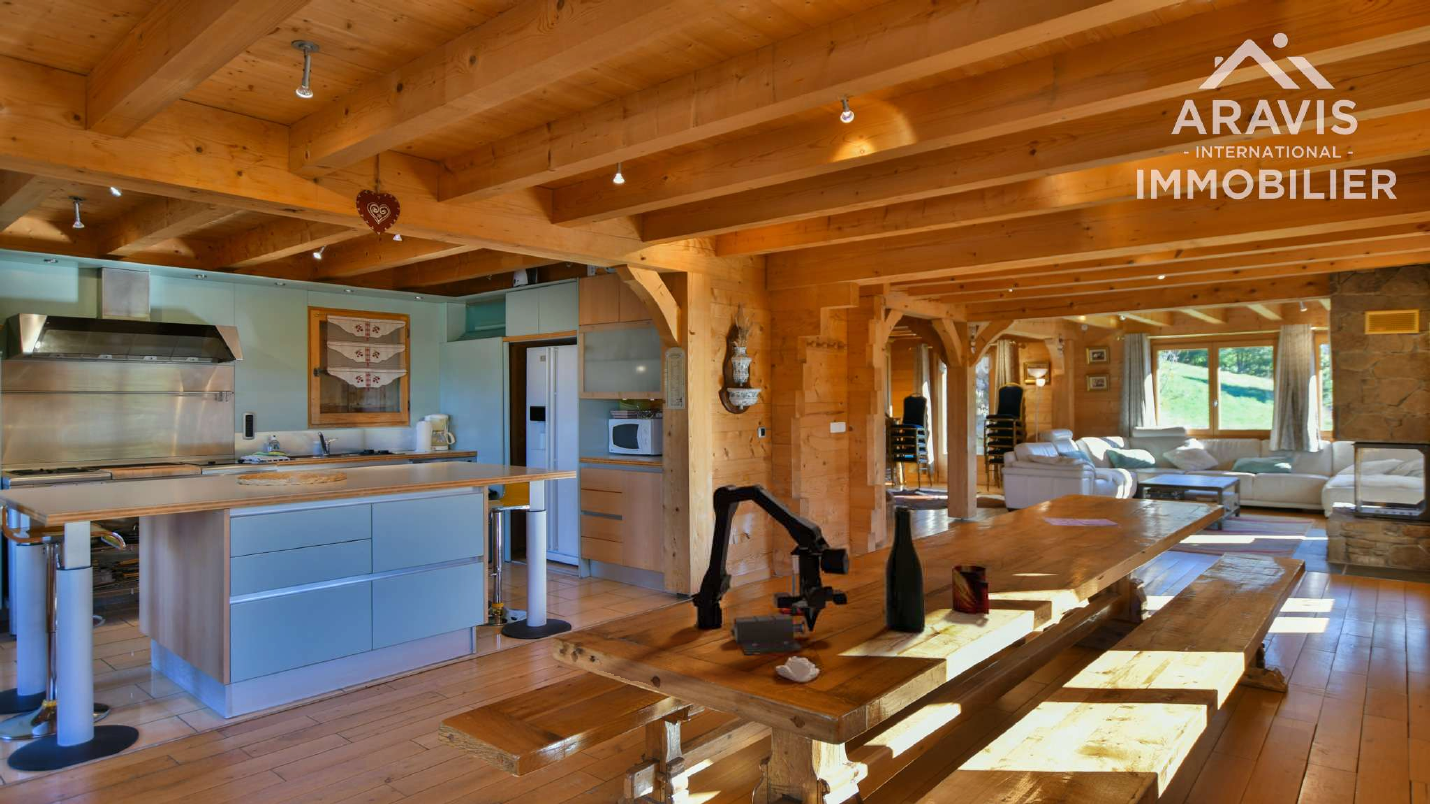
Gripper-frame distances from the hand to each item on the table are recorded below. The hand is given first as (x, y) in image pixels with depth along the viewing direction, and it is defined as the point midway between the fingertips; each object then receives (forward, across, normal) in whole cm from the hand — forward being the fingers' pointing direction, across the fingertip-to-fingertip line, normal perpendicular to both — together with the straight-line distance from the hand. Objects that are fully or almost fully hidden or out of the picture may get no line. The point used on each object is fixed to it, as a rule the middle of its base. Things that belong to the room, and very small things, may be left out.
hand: (810, 631), depth 210 cm
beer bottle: (+2, +27, +2) cm, 27 cm away
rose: (+2, -10, -28) cm, 30 cm away
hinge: (+1, -12, 0) cm, 12 cm away
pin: (+1, -10, 0) cm, 10 cm away
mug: (+1, +53, +13) cm, 54 cm away
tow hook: (+2, +2, +26) cm, 26 cm away
